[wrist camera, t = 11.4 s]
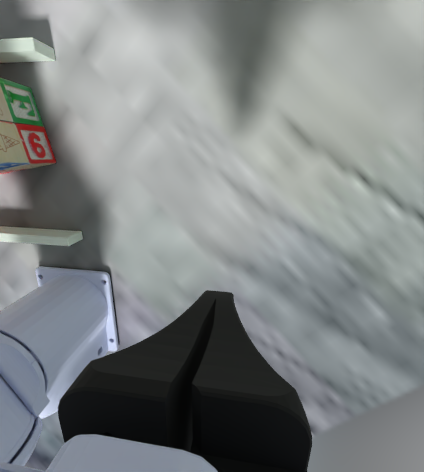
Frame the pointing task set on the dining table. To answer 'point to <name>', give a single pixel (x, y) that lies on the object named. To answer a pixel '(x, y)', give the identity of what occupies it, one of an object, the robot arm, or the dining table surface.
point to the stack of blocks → (21, 130)
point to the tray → (7, 54)
